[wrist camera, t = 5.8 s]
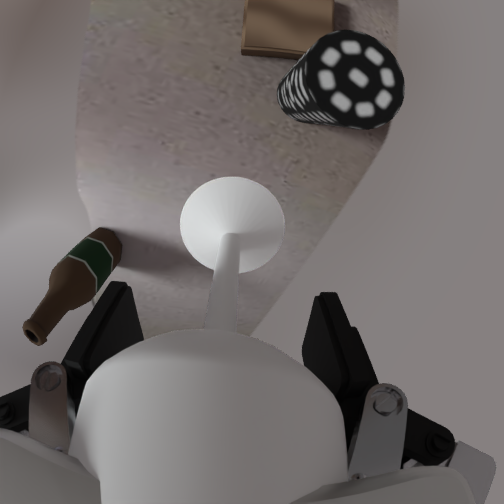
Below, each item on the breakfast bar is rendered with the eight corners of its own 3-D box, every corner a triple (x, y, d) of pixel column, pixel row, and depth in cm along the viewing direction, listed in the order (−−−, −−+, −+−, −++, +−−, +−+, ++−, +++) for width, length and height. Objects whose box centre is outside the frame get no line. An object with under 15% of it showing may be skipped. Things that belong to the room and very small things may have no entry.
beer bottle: (131, 244, 44) (61, 342, 23) (113, 272, 47) (51, 367, 26) (97, 217, 42) (11, 299, 21) (82, 247, 44) (8, 331, 23)
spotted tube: (265, 102, 34) (282, 85, 17) (297, 58, 31) (340, 11, 13) (314, 133, 36) (371, 150, 19) (344, 91, 33) (419, 78, 16)
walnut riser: (247, -10, 25) (246, -21, 22) (327, 0, 26) (335, -10, 22) (241, 55, 31) (241, 48, 27) (325, 64, 31) (333, 59, 28)
